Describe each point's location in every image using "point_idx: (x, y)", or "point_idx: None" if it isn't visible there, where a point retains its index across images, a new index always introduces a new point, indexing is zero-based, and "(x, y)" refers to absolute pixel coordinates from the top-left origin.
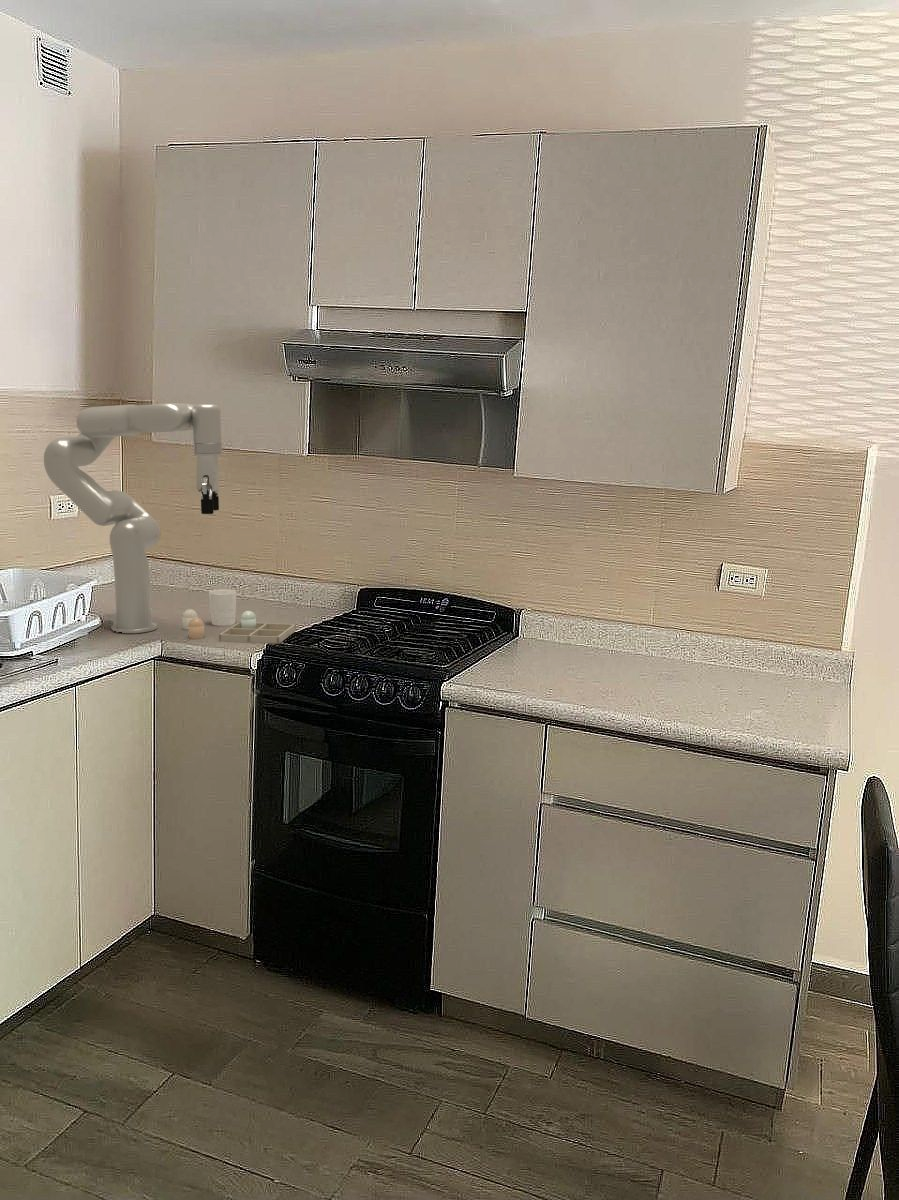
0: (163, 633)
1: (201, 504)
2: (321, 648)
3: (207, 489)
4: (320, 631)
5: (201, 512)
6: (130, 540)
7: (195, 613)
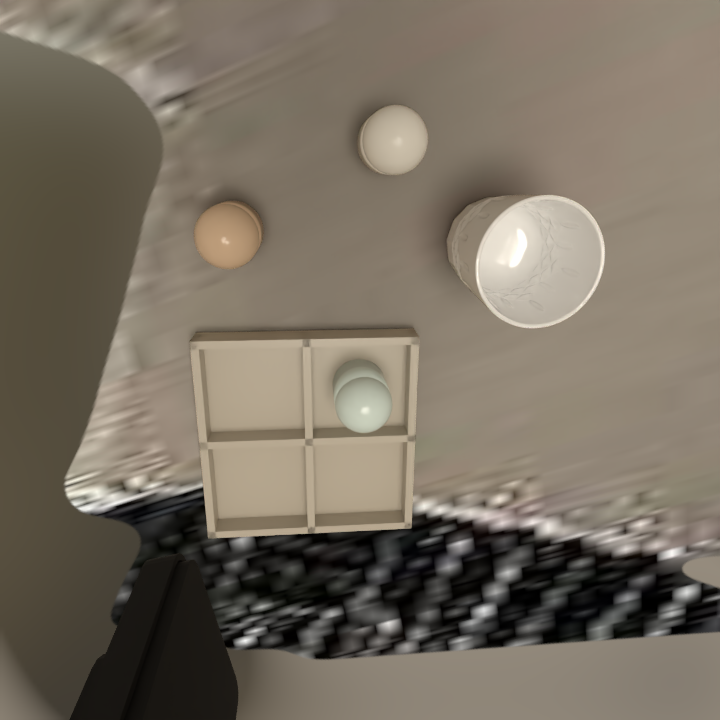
0: (307, 48)
1: (97, 697)
2: None
3: None
4: (434, 570)
5: (145, 568)
6: None
7: (391, 170)
